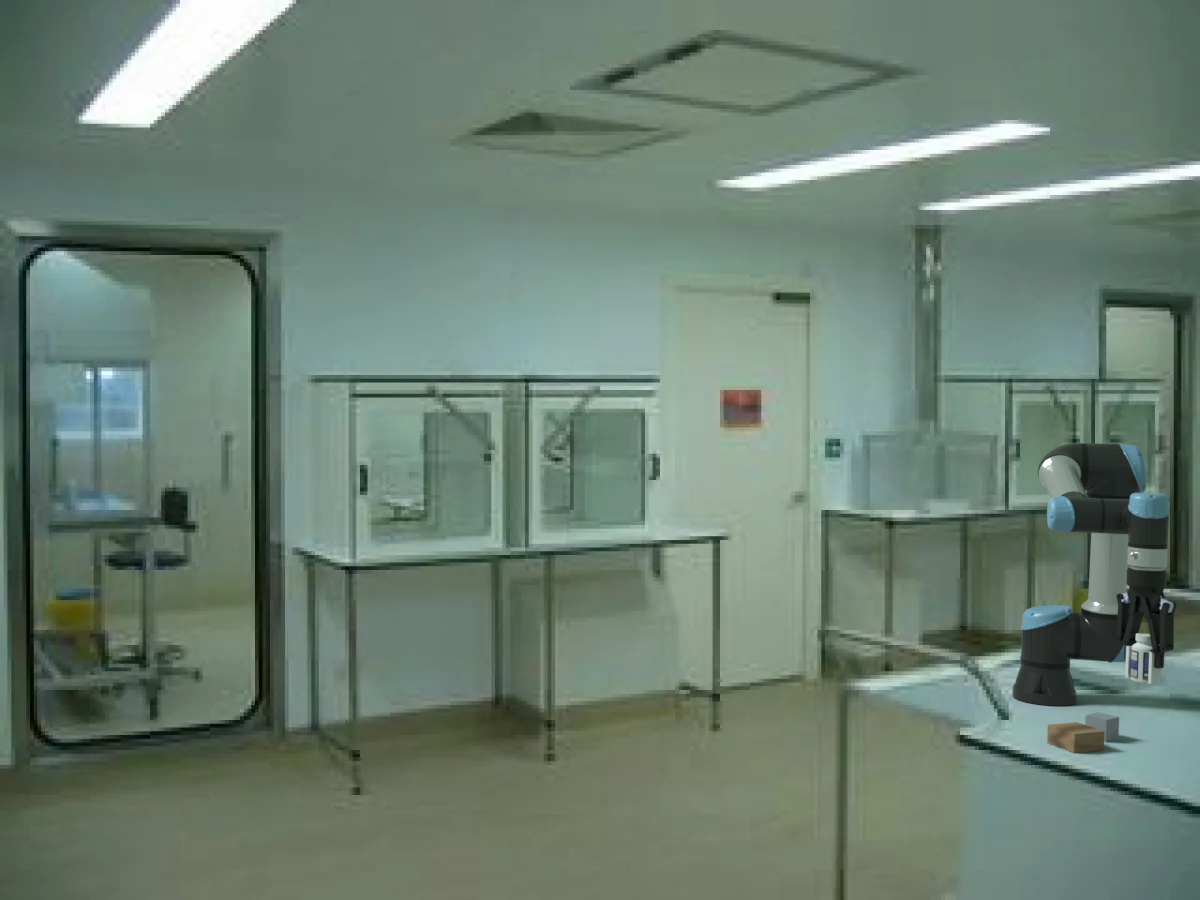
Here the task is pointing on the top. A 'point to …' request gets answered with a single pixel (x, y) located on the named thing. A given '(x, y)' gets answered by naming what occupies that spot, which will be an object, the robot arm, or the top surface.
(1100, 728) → the slate cube
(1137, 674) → the pill bottle
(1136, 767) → the top surface
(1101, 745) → the walnut block
